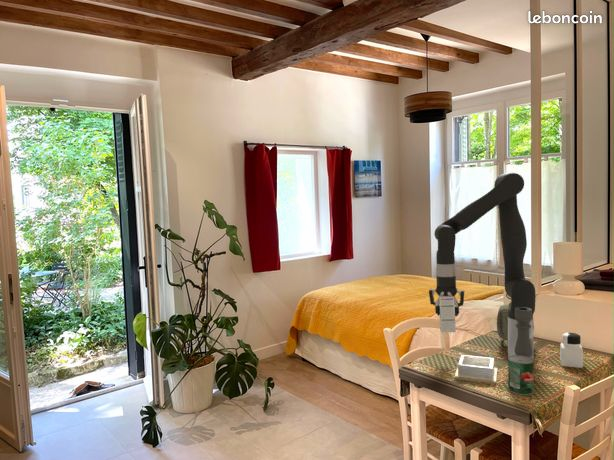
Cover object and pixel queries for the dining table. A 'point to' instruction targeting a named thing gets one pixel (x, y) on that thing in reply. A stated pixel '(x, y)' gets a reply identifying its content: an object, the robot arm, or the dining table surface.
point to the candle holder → (523, 331)
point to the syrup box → (447, 314)
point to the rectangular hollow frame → (476, 369)
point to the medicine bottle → (571, 351)
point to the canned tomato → (520, 375)
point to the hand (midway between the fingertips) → (447, 315)
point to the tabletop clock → (503, 321)
